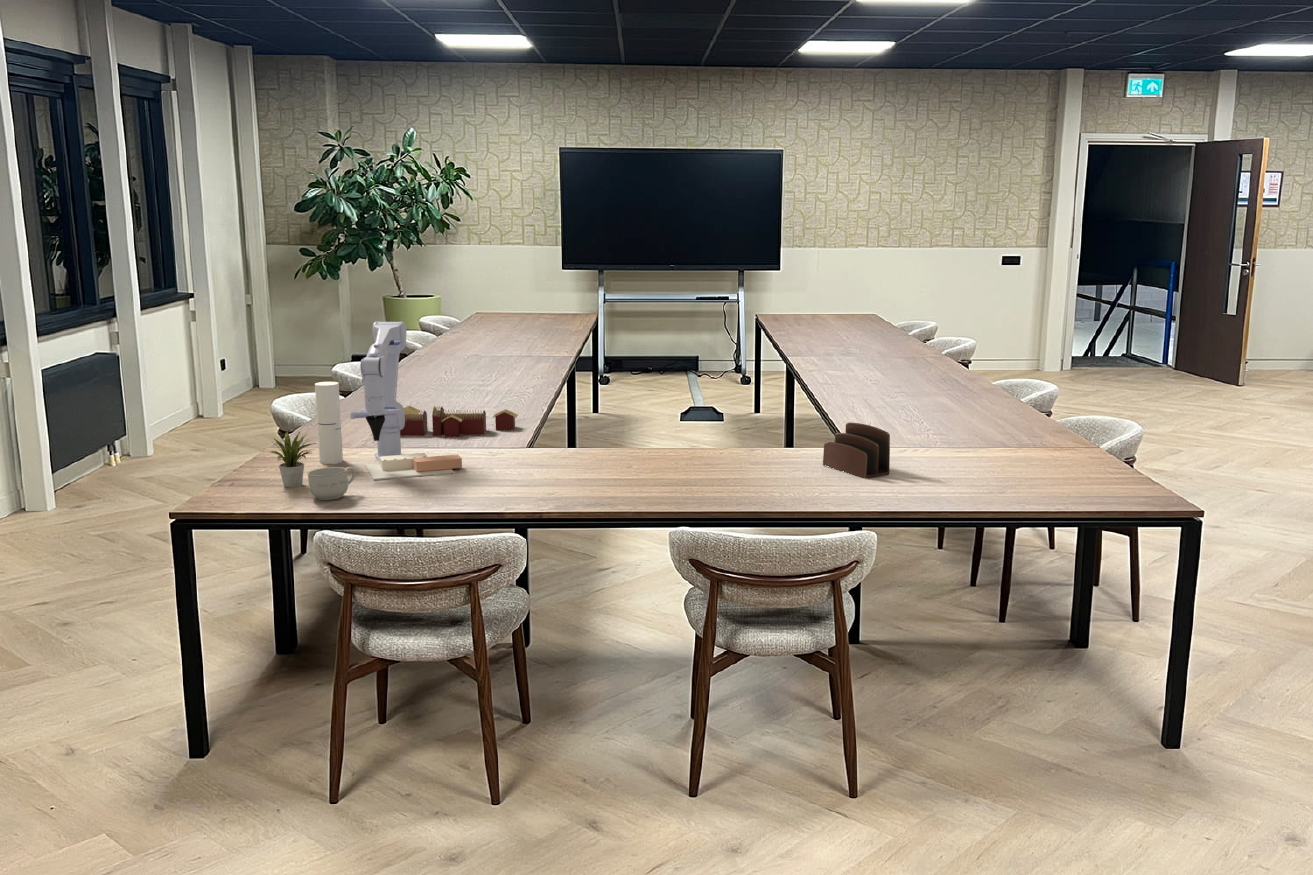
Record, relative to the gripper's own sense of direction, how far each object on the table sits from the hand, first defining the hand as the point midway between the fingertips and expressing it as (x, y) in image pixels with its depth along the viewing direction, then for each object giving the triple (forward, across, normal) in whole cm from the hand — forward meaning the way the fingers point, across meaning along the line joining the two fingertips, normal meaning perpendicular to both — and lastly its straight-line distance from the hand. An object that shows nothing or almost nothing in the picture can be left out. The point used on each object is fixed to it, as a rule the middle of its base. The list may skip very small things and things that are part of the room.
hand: (376, 440), depth 346 cm
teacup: (+10, -16, -27) cm, 33 cm away
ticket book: (+9, +8, 0) cm, 12 cm away
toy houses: (+10, +34, +49) cm, 60 cm away
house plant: (+10, -26, -11) cm, 30 cm away
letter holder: (+10, +138, -53) cm, 148 cm away
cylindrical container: (+10, -12, +17) cm, 23 cm away
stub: (+9, +17, -6) cm, 21 cm away
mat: (+9, +9, -3) cm, 13 cm away
